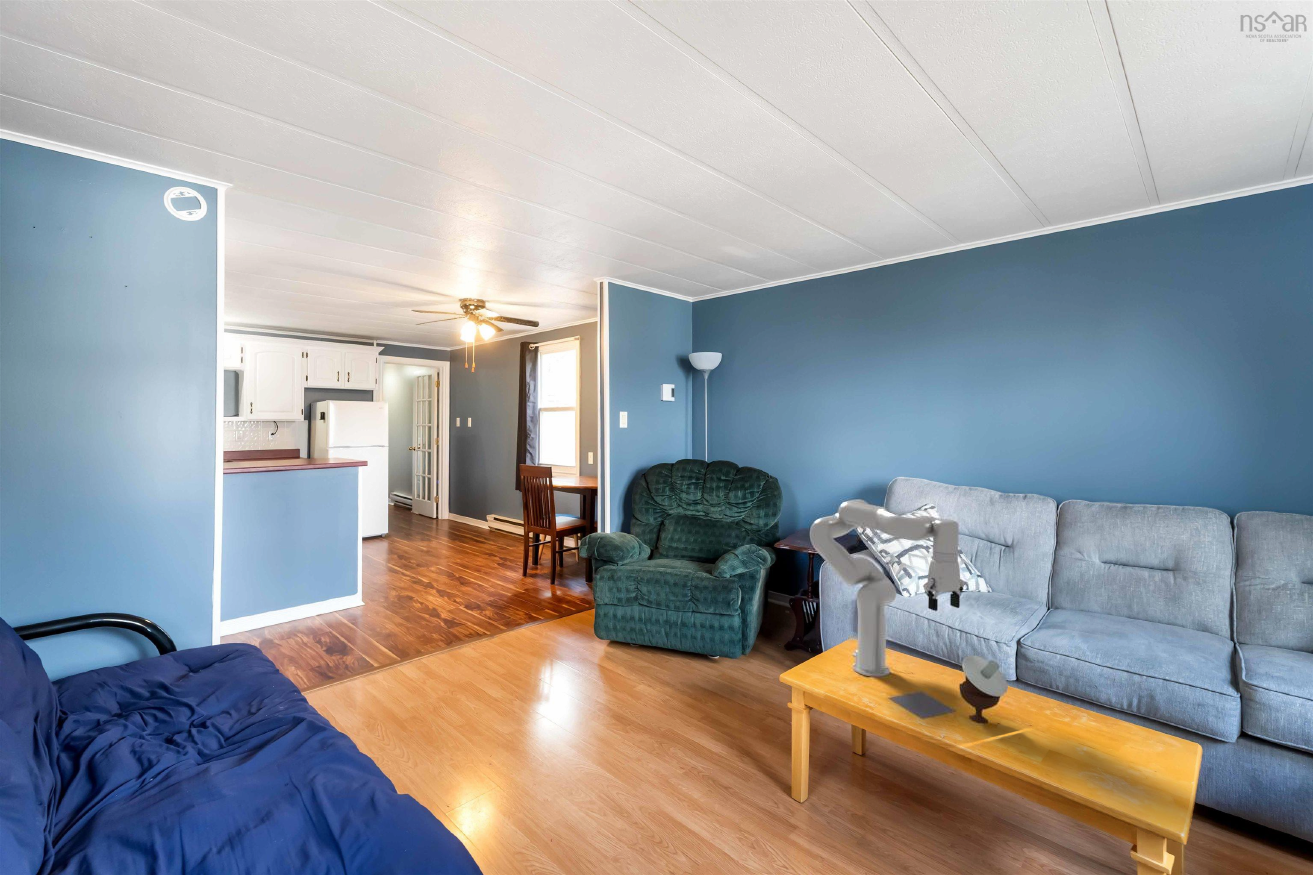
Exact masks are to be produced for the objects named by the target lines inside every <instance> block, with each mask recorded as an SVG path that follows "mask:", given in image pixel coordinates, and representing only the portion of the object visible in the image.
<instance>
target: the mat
mask: <svg viewBox="0 0 1313 875" xmlns="http://www.w3.org/2000/svg"><path fill="white" fill-rule="evenodd" d="M887 699H889V700H890V701H892V702H893V703H895V704H897V705H899V706H900V707H902V708H903V709H905V710H907V711H908V712H910V713H912V714H914V715H915V716H917V717H918V718H920V719H922V720H923V719H924V720H925V719H928V718H932V717H938V716H941V715H946V714H951V713H955V712H957V710H956V709H954V708H953V707H951V706H949V705H947V704H945V703H943V702H941V701H939V700H938V699H935V698H934V697H932V696H931V695H928V694H926V693H925V692H923V691H917V692H911V693H907V694H906V693H905V694H901V695H896V696H891V697H888V698H887Z"/></svg>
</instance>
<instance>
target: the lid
mask: <svg viewBox="0 0 1313 875" xmlns="http://www.w3.org/2000/svg"><path fill="white" fill-rule="evenodd" d="M961 666H962V671H963V673H964V674H965V676H967V678H968V679H969V680H970V682H971V683H972V684H973V685H974V686H976V687H977V688H978V689H980V690H981V691H983V692H984V693H986V694H989V695H992V696H997V697H998V696H1000V697H1002V696H1004V695H1005V694H1006V693H1007V692H1008V689H1009V688H1008V686H1009V685H1008V682H1007V679H1006V678H1005V676H1004V674H1003V673H1002V672H1001V671H1000V670H999V669H1000V668H1001V667H1000V665H999V663H998V662H997V661H995V660H992V659H991V660H987V659H985V658H984V657H981V656H978V655H968V656H966V657H965V658H964V659H963V660H962V663H961Z"/></svg>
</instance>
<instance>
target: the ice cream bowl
mask: <svg viewBox="0 0 1313 875" xmlns="http://www.w3.org/2000/svg"><path fill="white" fill-rule="evenodd" d="M964 678H965V680H964V681H963V682H962V683H959V685H958V686H959V687H958V688H959V693H960V696H961V698H962V699H963V700H964V701H965V702H966V704H968V705H970V706H971V707H973V708H974V709H975V713H974V714H972V715H969V717H968V719H969V720H970V721H972V722H974V723H978V724H983V725H985V724H988V723H989V719H987V718H986V717H984V716H983V711H985V710H987V709H988V710H989V709H992V708H994V707H995V706H997V705H998V703H999V702H1000V698H1001V696H998V697H997V696H992V695H989V694H986V693H984V692H983V691H981V690H980V689H978V688H977V687H976V686H974V685H973V684H972V683H971V682H970V680H969V679H968V678H967V676H966V675H965V677H964Z"/></svg>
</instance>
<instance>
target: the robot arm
mask: <svg viewBox="0 0 1313 875" xmlns="http://www.w3.org/2000/svg"><path fill="white" fill-rule="evenodd" d="M959 526H960V525H959V523H958V521H956V520H953V519H947V518H938V517H933V516H928V515H919V516H916V517H908V516H901V515H898V514H894V513H890V512H889V511H888V510H887V508H886V507H884V506H879V505H874V504H869V503H868V502H867V501H865V500H863V499H858V498H857V499H851V500H846V501H844V502H842V503H841V504H840V505H839V506H838V510H837V512H836V513H835V514H832V515H830V516H823V517H820V518H818V519H816V520H815V521H814V522H813V523H812V525H811V526H810V529H809V538H810V539H809V540H810V543H811V545H812V547H813V548H814V550H815V551H816V553H818V554H819V555H820V556H821V557H822V559H823V560H824V561H825V562H826V563H827V564H828V566H829V567H830V568H831V569H832V570H833V571H834V572H835V574H836V575H837V576H838V577H839V578H840V579H841V580H842V582H843V583H844V584H846V585H847V586H850V587H856V586H858V585H862V586H861V587H860V588H859V589H858V590H857V592H856V605H857V606H856V607H857V623H858V624H857V649H856V650H855V651H854V652H853V653H852V654H851V656H852V658H855V661H854V662H853V664H852V669H853V671H855V672H856V673H857V674H860V675H863V676H866V677H871V678H875V677H886V676H888V675H890V674H891V669H890V667H889V666H887V665H886V658H887V657H886V651H887V649H886V646H887V645H886V644H887V618H886V612H885V607H887V606H888V605H890V604H892V603H893V602H894V601H895V600H896V597H897V591H896V587H895V585H894V584H893V583H892V582H891V580H890V579H889V578H888V577H887V576H886V575H885V574H884V573H883V572H882V571H881V570H880V568H879V567H878V566H877V565H876V564H875V563H874V562H873V561H872V560H871V559H869V558H867V557H864V556H857V557H853V556H852V555H851V553H849V552H848V551H847V549H846V548H845V547H844V546H842V545H841V544H840V543H839V542H837V541H836V540H835V538H839V537H842V536H844V535H846V534H848V533H849V532H850V531H852V530H854V529H855V528H857V527H861V528H867V529H870V530H876V531H880V532H881V533H884V534H886V535H888V536H892V537H893V538H894V537H895V538H899V539H902V540H907V541H914V542H916V541H917V542H919V541H923V540H924V539H929V538H930V539H931V538H932V560H930V563H929V566H928V571H927V572H928V574H927V582H924V584H923V585H922V586H923V589H924V593H925V595H926V596H927V597H928V598H927V599H928V601H927V602H928V605H927V606H928V607H927V608H928V609H929V610H931V611H935V612H938V609H939V608H938V607H939V606H938V605H939V604H938V602H939V600H938V598H937V597H938V596H939V593H940V594H941V593H948V592H949V593H950V592H951V593H950V598H949V600H950V602H949V604H950V606H951V607H953V608H956V609H959V608H960V606H961V605H960V604H961V603H960V602H961V601H960V600H961V598H960V597H961V596H962V592H963V590H964V587H965V584H966V581H965V580H963V579H961V572H960V563H959V535H960V534H959Z"/></svg>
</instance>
